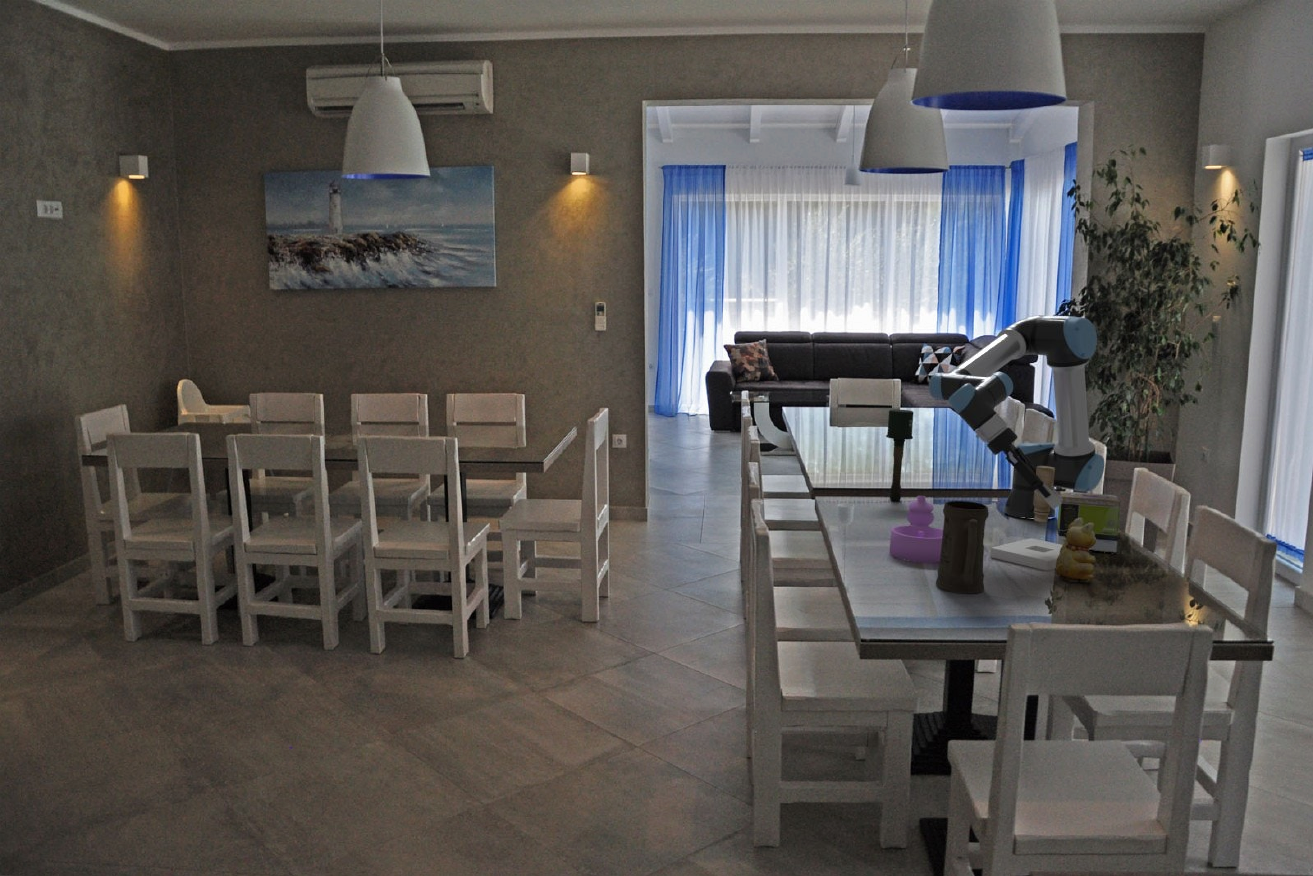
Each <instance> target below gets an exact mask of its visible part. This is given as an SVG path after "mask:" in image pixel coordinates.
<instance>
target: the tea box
mask: <svg viewBox="0 0 1313 876" xmlns="http://www.w3.org/2000/svg"><path fill="white" fill-rule="evenodd" d="M1059 495H1060V497H1061V498H1062V499H1063V501H1061V502H1062V504H1060V505H1059V506H1058V511H1057V512H1058V513H1057V525H1056V544H1061V545H1063V544H1064V542H1065V540H1066V538H1067V537H1066V534H1067V531H1068V528H1069V525H1070V524H1071V523H1072V522H1074V520H1075V519H1077V518H1082V519H1083V526H1084V525H1086V524H1088V523H1093V524H1094V528H1093V530H1092V531H1094V533H1095V538H1096V543H1095V544H1094V546H1093V547H1091V548H1089V549H1096V550H1106V551H1113V552H1118V551H1117V550H1118V540H1119V539H1118V538H1119V529H1120V528H1119V525H1120V518H1121V517H1120V515H1121V501H1120V499H1119V497H1118V495H1115V494H1103V493H1101V494H1100V493H1089V492H1078V491H1075V492H1074V491H1059Z"/></svg>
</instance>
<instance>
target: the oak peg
mask: <svg viewBox="0 0 1313 876" xmlns="http://www.w3.org/2000/svg"><path fill="white" fill-rule="evenodd" d="M1054 472H1055V468H1053V467H1048V466H1037V469H1036V475H1037V476H1038V477H1039V478H1040V480H1041V481H1043V483H1045V484H1046V485H1047V486H1048V487H1049V488H1050V490H1051V491H1052V492H1053V489H1054V486H1053V483H1054ZM1033 505H1034V513H1035V518H1034V521H1035V522H1038V523H1039V522H1040V523H1041V522H1042V523H1047V522H1048V514H1049V513H1050V507H1051V506H1050V505H1049V504H1048V503H1047V502H1046V501H1045V500H1044V499H1043V497H1042V496H1041V495H1040V494H1039V493H1038V492H1037V491H1036V490H1035V491H1034V502H1033Z"/></svg>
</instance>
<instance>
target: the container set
mask: <svg viewBox="0 0 1313 876" xmlns="http://www.w3.org/2000/svg"><path fill="white" fill-rule="evenodd" d="M926 498H927V497H926V496H925V495H917V500H913V501H911V502H909V503H908V506H907V507H908V511H907V513H906V520H907V522H908V523H909V525H907V524H906V525H895V526H893V527H891V528H890V539H889V540H890V542H889V555H890V554H891V555H890V556H892V557H893V556H894V558H896V559H898V558H899V560H902V559H905V560H904V561H906V560H909V561H908V562H912V561H915V562H914V563H920V562H921V563H922V564H923V563H924V564H939V563H940V554H941V546H942V536H943V528H940V527H939V528H938V527H934V526H930V525H931V524H932V523H933V522H934V520H935V516H934V513H933V511H934V509H935V507H934V505H933V503H931V502H929V501H927V500H926ZM921 563H920V564H921Z"/></svg>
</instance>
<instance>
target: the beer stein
mask: <svg viewBox="0 0 1313 876" xmlns="http://www.w3.org/2000/svg"><path fill="white" fill-rule="evenodd" d="M942 512H943V517H944V519H943V527H942V529H943V536H942V546H941V554H940V563H938V564H939V565H938V568H937V570H936V571H937V578H936V580H935V586H936V587H937V588H938V589H941V590H943V591H944V592H945V591H946V592H949V593H952V594H953V593H955V594H962V595H963V594H964V595H965V594H966V595H971V594H972V595H974V594H980V593H982V592H984V591H985V585H984V584H985V583H984V578H985V574H984V550H985V546H984V545H985V544H984V539H985V528H986V527H985V526H986V521H987V519H988V518H989V507H988V506H987V505H985V504H983V503H980V502H973V501H970V500H969V501H967V500H950V501H946V502H945V503H944V506H943V509H942Z"/></svg>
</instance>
